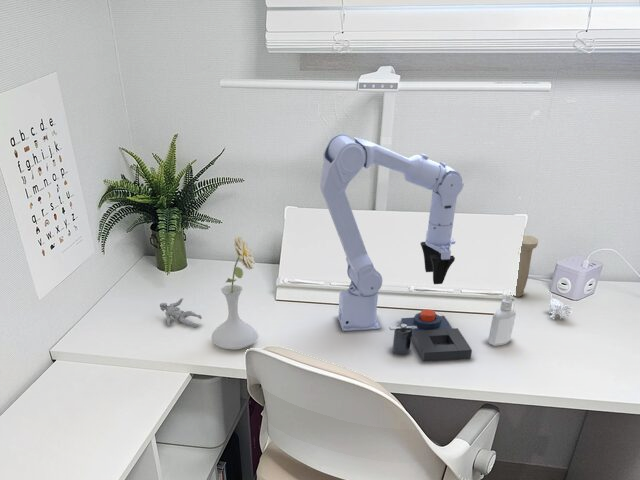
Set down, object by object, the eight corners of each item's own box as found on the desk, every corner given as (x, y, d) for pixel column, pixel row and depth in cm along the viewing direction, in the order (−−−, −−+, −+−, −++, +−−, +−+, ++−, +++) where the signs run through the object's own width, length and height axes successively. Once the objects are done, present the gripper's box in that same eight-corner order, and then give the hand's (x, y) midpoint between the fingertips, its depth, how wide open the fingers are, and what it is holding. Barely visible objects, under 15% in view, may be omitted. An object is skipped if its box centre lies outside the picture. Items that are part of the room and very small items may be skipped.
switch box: (408, 337, 166) (409, 326, 164) (400, 323, 172) (402, 312, 171) (452, 335, 167) (454, 323, 165) (443, 320, 173) (444, 309, 171)
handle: (525, 290, 187) (536, 236, 177) (526, 300, 182) (538, 244, 172) (506, 289, 187) (517, 235, 178) (507, 299, 183) (518, 243, 173)
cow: (571, 324, 170) (576, 307, 167) (549, 325, 170) (554, 307, 167) (556, 304, 179) (561, 287, 176) (536, 304, 180) (540, 287, 177)
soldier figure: (188, 336, 171) (149, 314, 173) (193, 340, 176) (155, 319, 178) (203, 309, 171) (164, 287, 173) (208, 314, 176) (169, 293, 177)
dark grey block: (389, 356, 159) (391, 329, 155) (385, 348, 162) (388, 322, 158) (416, 355, 159) (419, 328, 155) (412, 347, 162) (415, 320, 158)
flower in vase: (240, 358, 159) (234, 253, 144) (202, 346, 164) (192, 244, 149) (271, 336, 168) (268, 235, 152) (233, 326, 173) (227, 226, 157)
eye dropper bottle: (512, 346, 162) (523, 298, 154) (489, 346, 162) (498, 299, 154) (508, 337, 165) (518, 290, 158) (485, 338, 165) (493, 291, 158)
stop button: (422, 322, 166) (422, 316, 165) (418, 316, 169) (419, 309, 168) (436, 321, 167) (437, 315, 166) (432, 315, 169) (433, 309, 168)
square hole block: (422, 362, 156) (424, 352, 155) (411, 340, 165) (412, 330, 164) (470, 359, 157) (472, 349, 156) (456, 337, 166) (457, 328, 164)
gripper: (466, 231, 155) (458, 288, 163) (448, 211, 166) (441, 265, 175) (436, 232, 154) (429, 289, 163) (420, 212, 166) (414, 267, 174)
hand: (433, 277), depth 169 cm, fingers open, 7 cm apart
